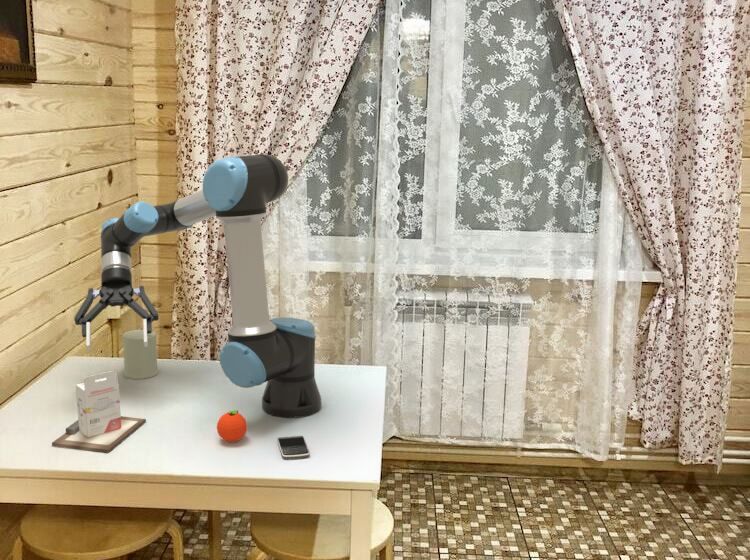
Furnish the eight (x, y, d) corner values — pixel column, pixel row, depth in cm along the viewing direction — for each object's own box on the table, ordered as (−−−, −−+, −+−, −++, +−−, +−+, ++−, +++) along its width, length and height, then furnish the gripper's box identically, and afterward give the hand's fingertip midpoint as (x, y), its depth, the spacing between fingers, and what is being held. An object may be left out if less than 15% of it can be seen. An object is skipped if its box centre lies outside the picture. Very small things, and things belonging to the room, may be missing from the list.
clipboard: (145, 422, 210) (145, 413, 210) (108, 453, 193) (108, 443, 193) (93, 416, 213) (92, 407, 213) (52, 446, 196) (51, 437, 196)
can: (149, 380, 238) (147, 338, 235) (118, 377, 240) (116, 336, 237) (163, 369, 247) (162, 329, 244) (133, 366, 249) (131, 326, 246)
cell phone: (282, 462, 192) (282, 456, 192) (276, 441, 202) (276, 436, 202) (310, 460, 194) (310, 454, 193) (302, 439, 204) (302, 434, 204)
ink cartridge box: (112, 422, 208) (109, 364, 204) (121, 428, 204) (119, 369, 201) (77, 431, 202) (74, 371, 199) (87, 438, 198) (83, 377, 195)
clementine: (224, 431, 206) (224, 403, 205) (252, 434, 205) (252, 406, 203) (212, 445, 199) (212, 416, 197) (241, 448, 197) (241, 419, 196)
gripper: (166, 278, 230) (169, 349, 219) (67, 283, 224) (65, 356, 214) (165, 263, 224) (168, 335, 213) (63, 267, 218) (62, 342, 207)
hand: (117, 346), depth 213 cm, fingers open, 13 cm apart
